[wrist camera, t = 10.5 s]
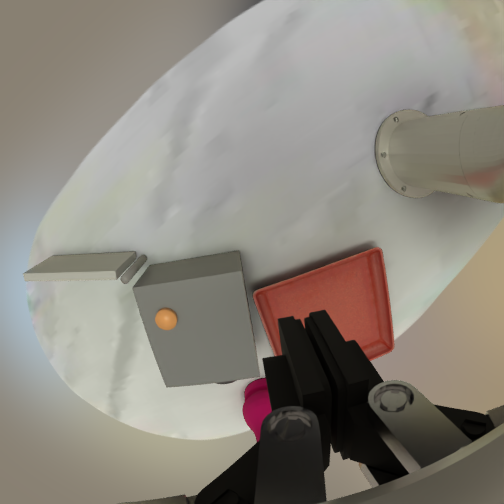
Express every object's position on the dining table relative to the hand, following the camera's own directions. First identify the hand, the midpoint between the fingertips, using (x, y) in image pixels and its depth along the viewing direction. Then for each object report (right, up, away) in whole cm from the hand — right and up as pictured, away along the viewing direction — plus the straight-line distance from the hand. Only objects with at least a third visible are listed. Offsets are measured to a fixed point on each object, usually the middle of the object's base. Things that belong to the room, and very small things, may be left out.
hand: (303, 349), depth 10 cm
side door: (-23, +2, +28) cm, 36 cm away
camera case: (-8, -4, +31) cm, 32 cm away
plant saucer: (+9, -6, +33) cm, 35 cm away
